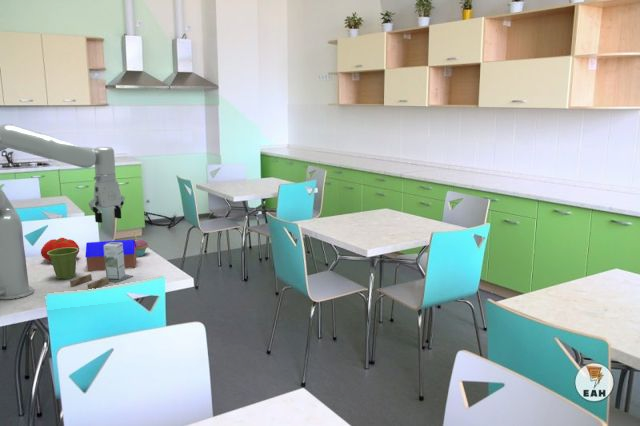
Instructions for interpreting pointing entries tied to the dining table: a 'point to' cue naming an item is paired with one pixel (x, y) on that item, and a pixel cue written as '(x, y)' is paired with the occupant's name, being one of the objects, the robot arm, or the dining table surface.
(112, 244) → the syrup box
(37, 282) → the dining table surface
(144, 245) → the cupcake
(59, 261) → the plant pot
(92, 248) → the house
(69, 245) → the tomato
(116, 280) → the pad
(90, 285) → the rails
